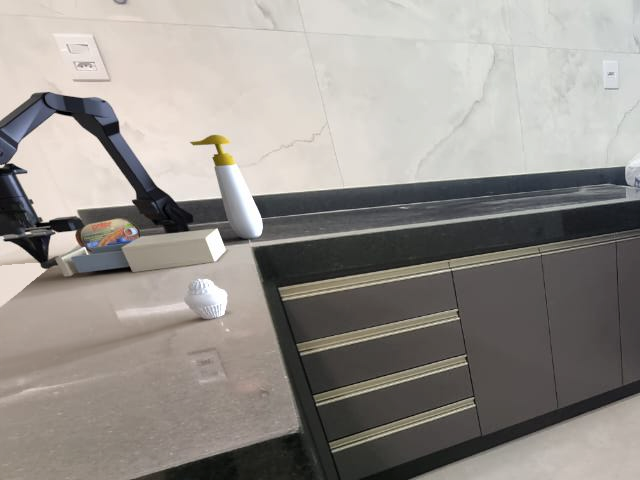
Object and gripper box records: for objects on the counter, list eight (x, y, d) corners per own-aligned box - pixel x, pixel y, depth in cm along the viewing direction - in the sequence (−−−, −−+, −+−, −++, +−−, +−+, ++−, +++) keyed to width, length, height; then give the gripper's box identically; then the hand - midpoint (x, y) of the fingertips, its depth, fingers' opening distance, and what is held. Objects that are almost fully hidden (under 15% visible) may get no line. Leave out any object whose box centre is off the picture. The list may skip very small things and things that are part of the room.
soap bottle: (225, 237, 164) (187, 136, 151) (264, 232, 169) (230, 133, 157) (228, 244, 154) (187, 136, 142) (269, 237, 160) (233, 133, 147)
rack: (39, 279, 122) (29, 261, 120) (65, 266, 132) (56, 249, 131) (147, 266, 129) (139, 248, 127) (163, 255, 140) (156, 238, 138)
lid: (117, 259, 142) (107, 238, 140) (147, 255, 145) (138, 235, 142) (111, 262, 138) (100, 241, 136) (141, 259, 141) (132, 238, 138)
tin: (91, 256, 146) (75, 226, 142) (82, 256, 147) (66, 226, 143) (146, 244, 159) (133, 215, 156) (138, 244, 160) (125, 215, 156)
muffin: (184, 323, 93) (167, 285, 90) (204, 311, 98) (189, 275, 95) (223, 320, 93) (207, 282, 90) (240, 308, 99) (226, 272, 96)
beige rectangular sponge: (132, 272, 128) (120, 247, 125) (151, 259, 140) (140, 236, 137) (215, 261, 134) (205, 237, 132) (225, 250, 146) (217, 228, 144)
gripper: (-74, 206, 109) (-29, 279, 116) (46, 197, 116) (82, 266, 123) (-41, 199, 118) (-1, 267, 125) (68, 191, 125) (100, 256, 132)
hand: (45, 264), depth 126 cm, fingers closed
